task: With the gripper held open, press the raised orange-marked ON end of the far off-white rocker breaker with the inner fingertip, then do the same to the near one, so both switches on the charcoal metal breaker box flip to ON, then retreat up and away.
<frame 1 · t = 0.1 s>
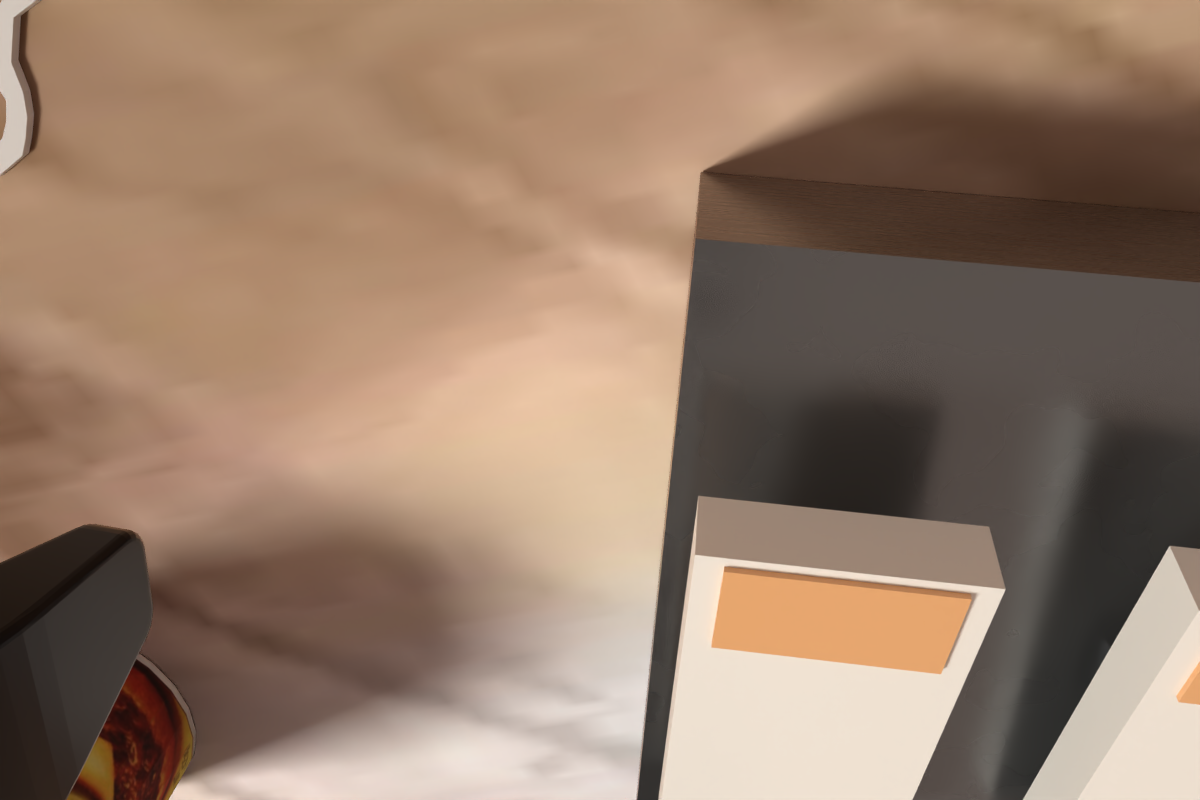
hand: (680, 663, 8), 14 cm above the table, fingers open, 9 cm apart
canned food: (80, 704, 32), on the table
breaker box: (944, 548, 25), on the table
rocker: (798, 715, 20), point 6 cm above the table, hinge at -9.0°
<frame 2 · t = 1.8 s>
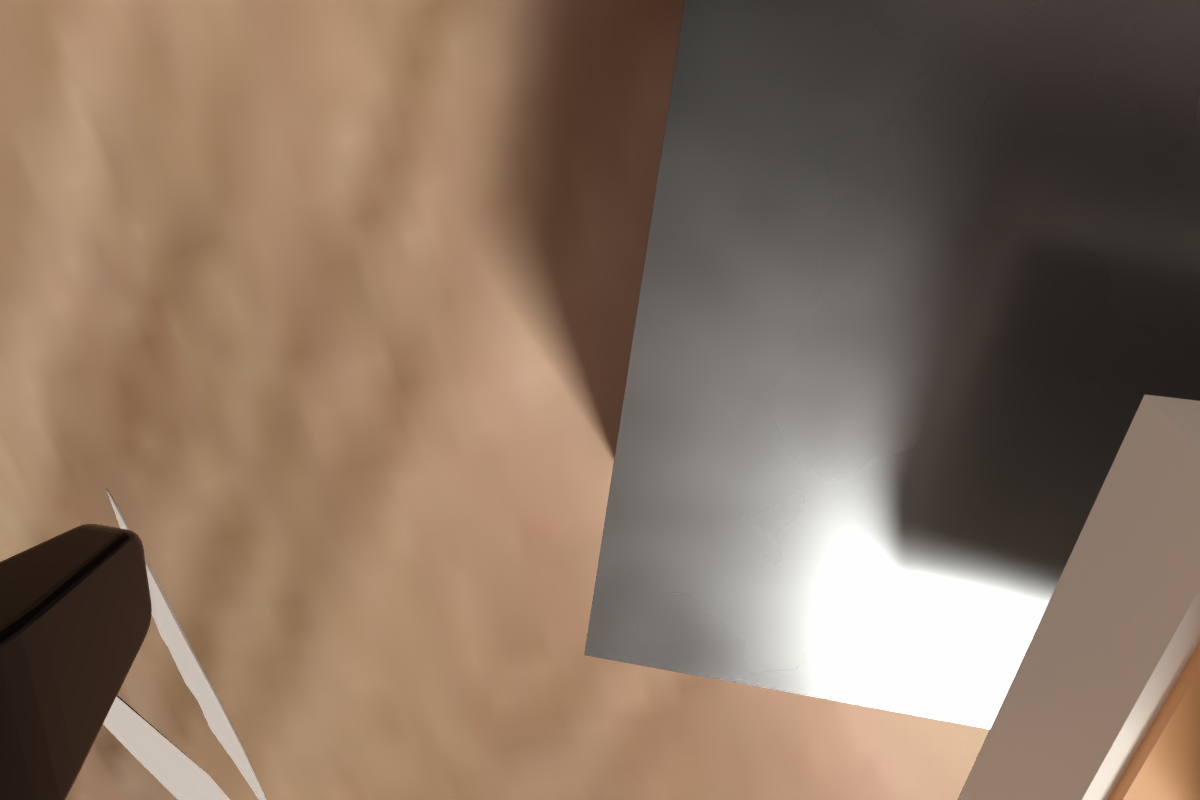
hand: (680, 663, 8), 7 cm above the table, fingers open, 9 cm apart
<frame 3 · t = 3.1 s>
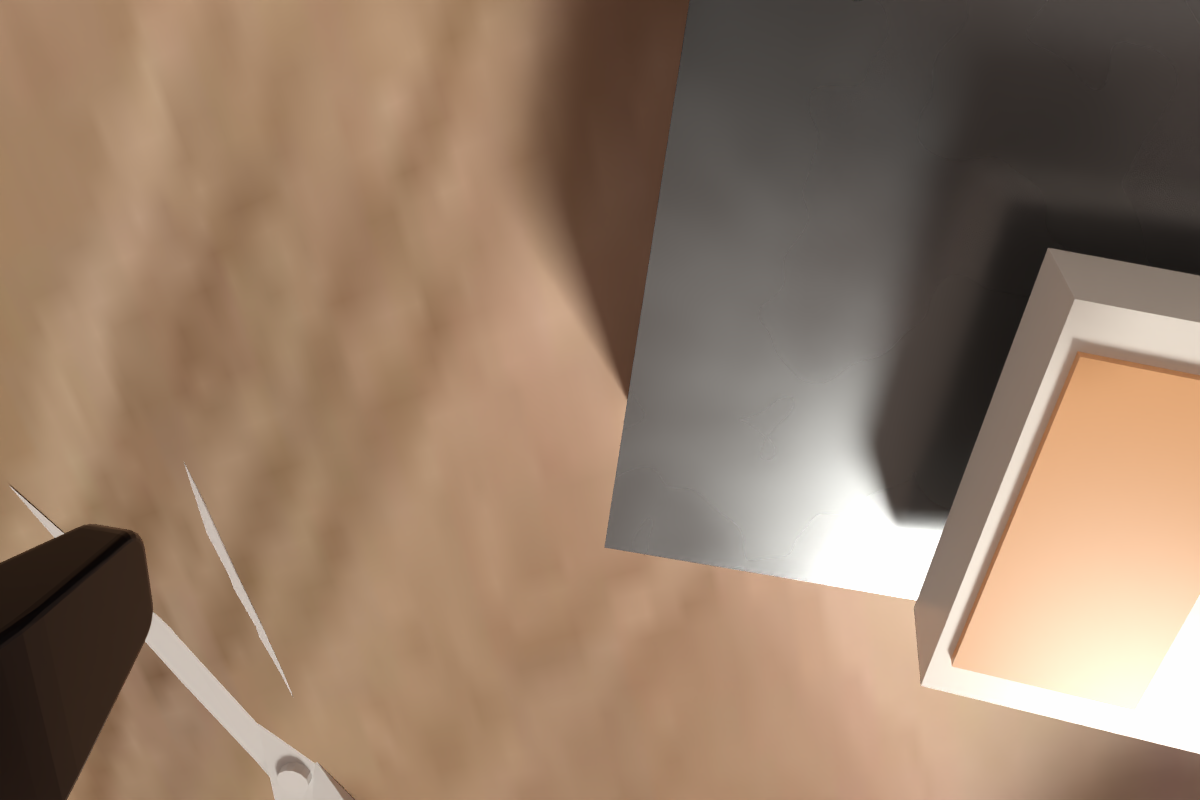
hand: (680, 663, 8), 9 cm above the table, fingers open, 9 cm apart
scissors: (329, 767, 24), on the table, touching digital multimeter
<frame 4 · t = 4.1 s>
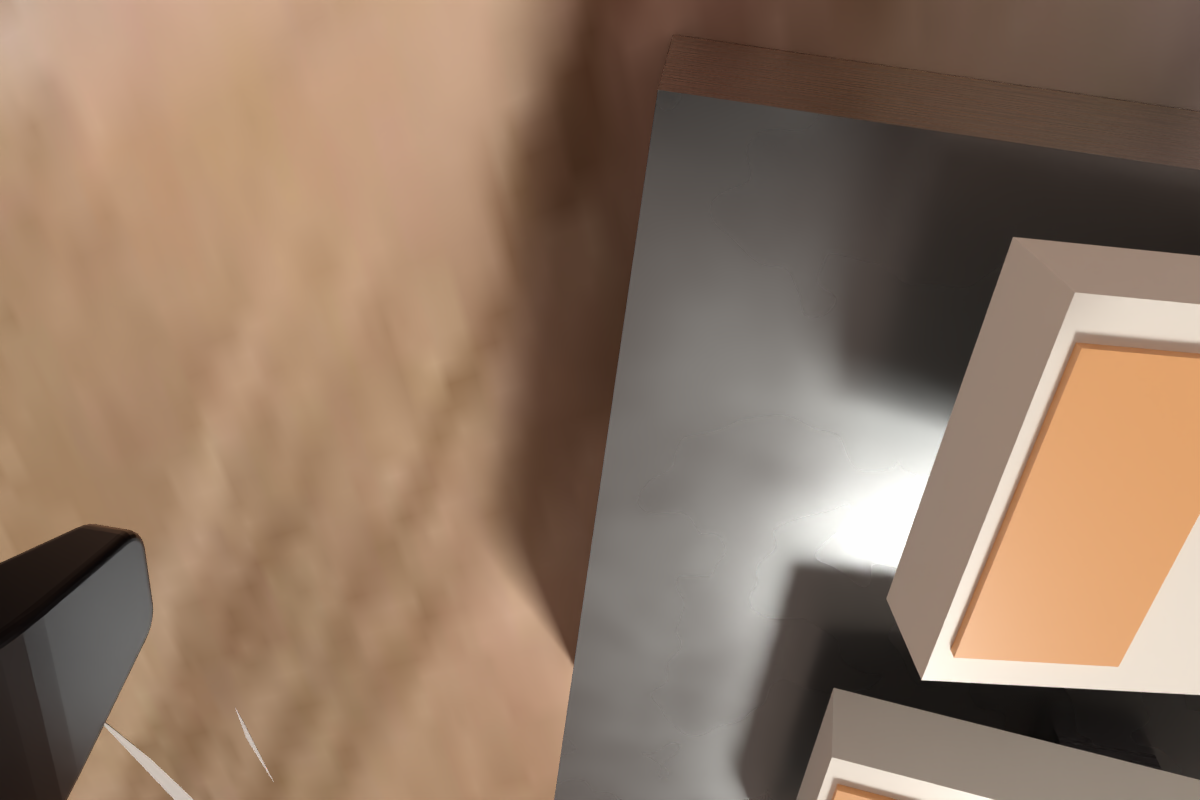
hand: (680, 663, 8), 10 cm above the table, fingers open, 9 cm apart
breaker box: (1085, 489, 19), on the table
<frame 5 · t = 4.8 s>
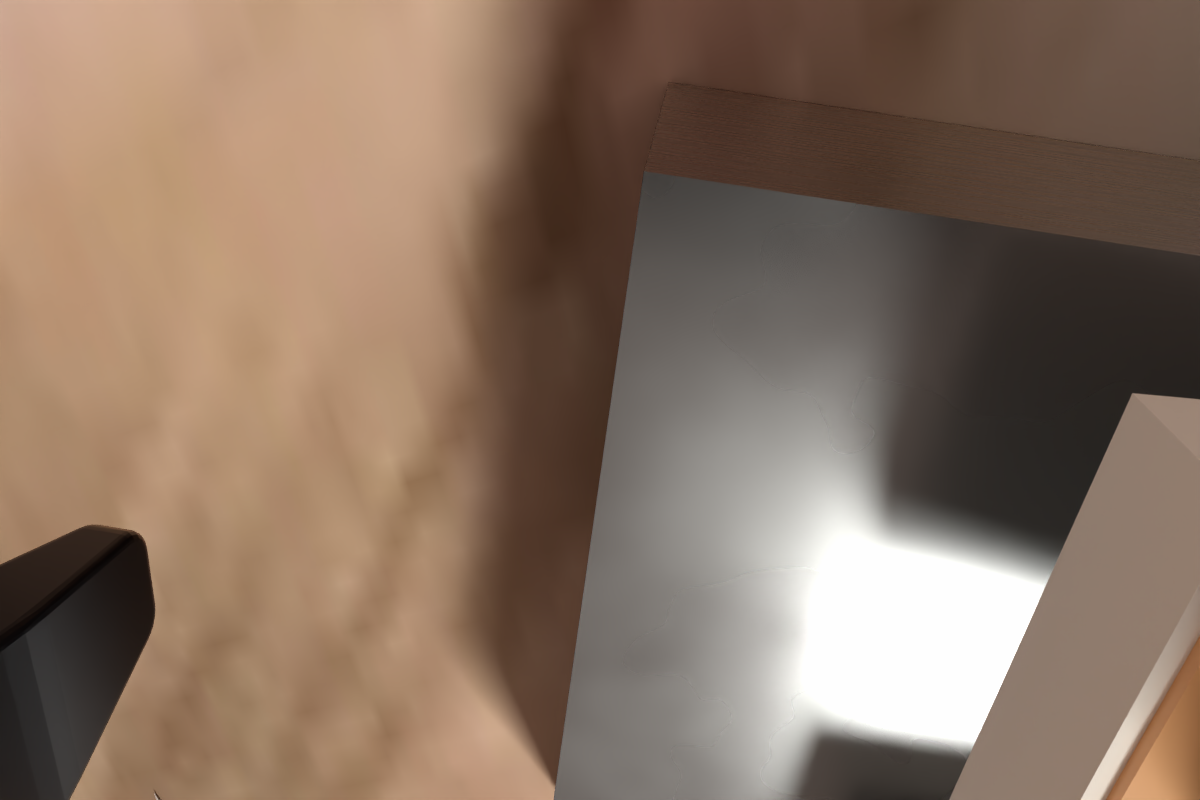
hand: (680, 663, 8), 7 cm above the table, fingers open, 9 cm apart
breaker box: (1159, 612, 16), on the table
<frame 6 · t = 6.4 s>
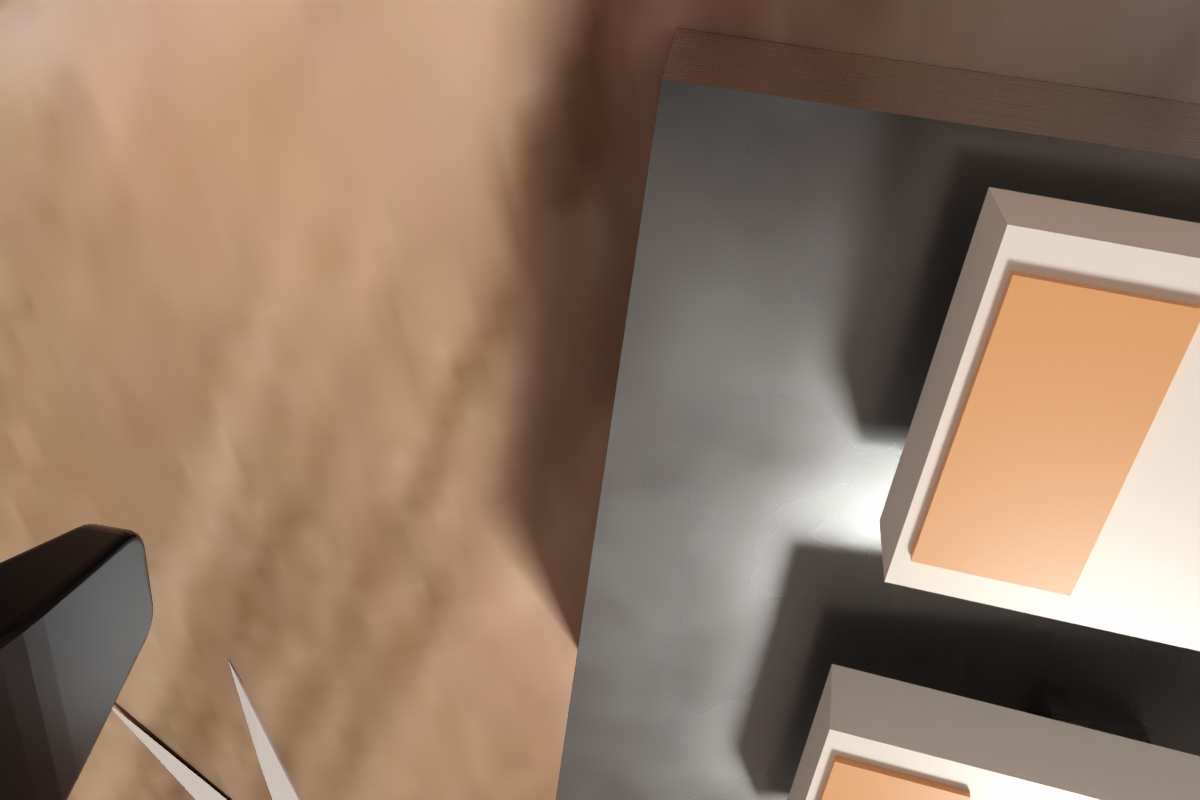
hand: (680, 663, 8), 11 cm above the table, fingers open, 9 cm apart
breaker box: (1079, 474, 19), on the table
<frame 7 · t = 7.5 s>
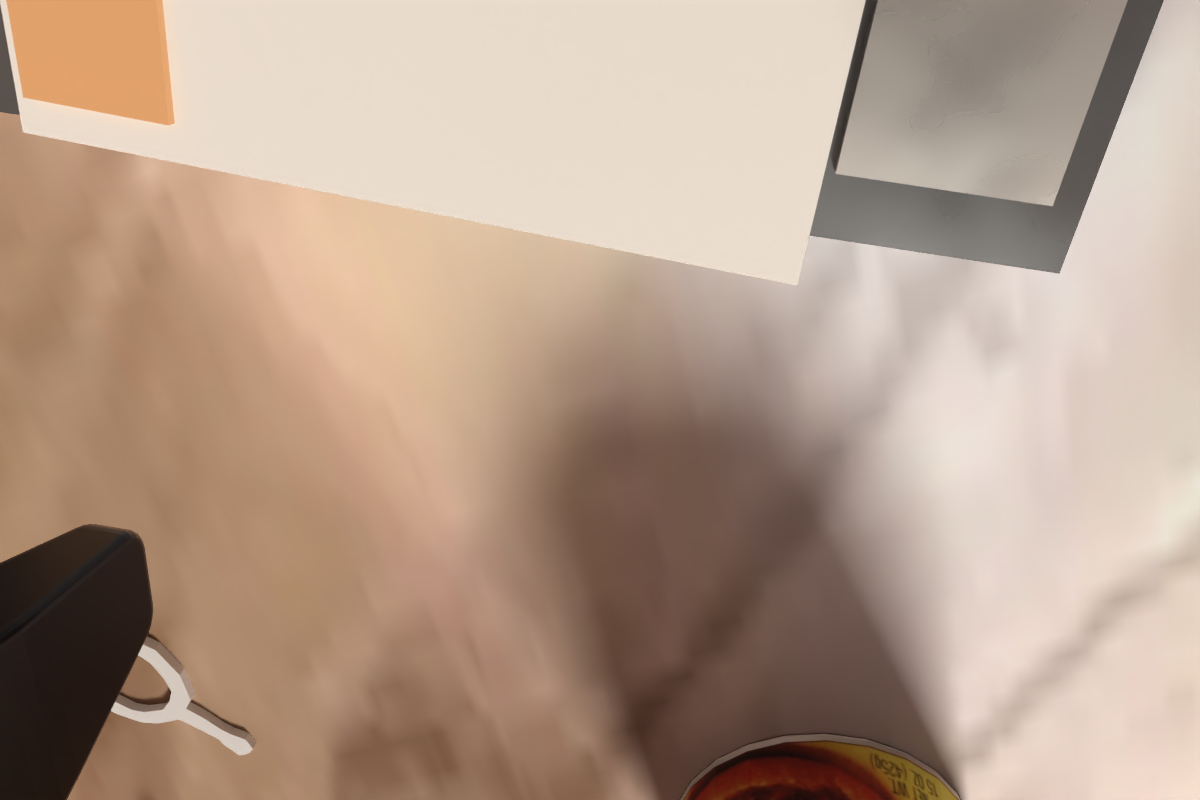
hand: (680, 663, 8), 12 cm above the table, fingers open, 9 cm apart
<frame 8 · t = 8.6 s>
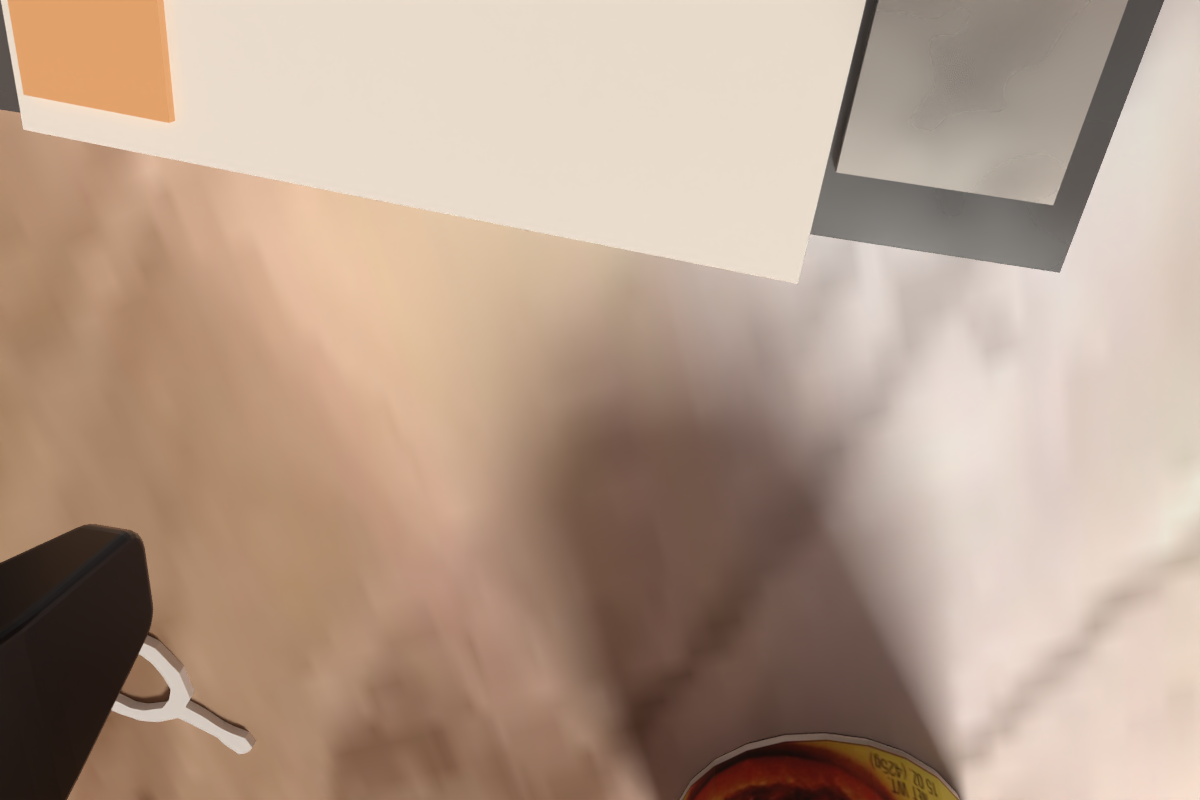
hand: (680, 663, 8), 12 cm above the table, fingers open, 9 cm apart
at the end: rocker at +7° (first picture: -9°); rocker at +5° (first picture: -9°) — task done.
